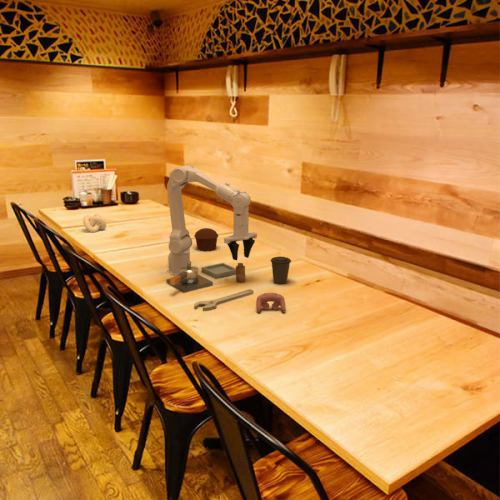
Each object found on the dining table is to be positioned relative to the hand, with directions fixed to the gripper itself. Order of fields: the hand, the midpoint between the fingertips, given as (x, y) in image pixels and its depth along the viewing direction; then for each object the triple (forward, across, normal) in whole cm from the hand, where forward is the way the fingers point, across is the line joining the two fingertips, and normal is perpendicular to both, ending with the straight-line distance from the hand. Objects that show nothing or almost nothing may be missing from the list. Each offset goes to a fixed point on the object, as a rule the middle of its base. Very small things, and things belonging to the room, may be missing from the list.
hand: (240, 258), depth 184 cm
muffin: (+10, +14, +46) cm, 49 cm away
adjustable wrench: (+10, -16, -14) cm, 23 cm away
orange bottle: (+9, 0, 0) cm, 9 cm away
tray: (+9, -1, +13) cm, 16 cm away
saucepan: (+8, -22, +7) cm, 24 cm away
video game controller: (+10, -9, -29) cm, 32 cm away
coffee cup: (+10, +12, -10) cm, 18 cm away
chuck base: (+9, -18, +9) cm, 22 cm away
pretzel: (+10, -16, +113) cm, 115 cm away
